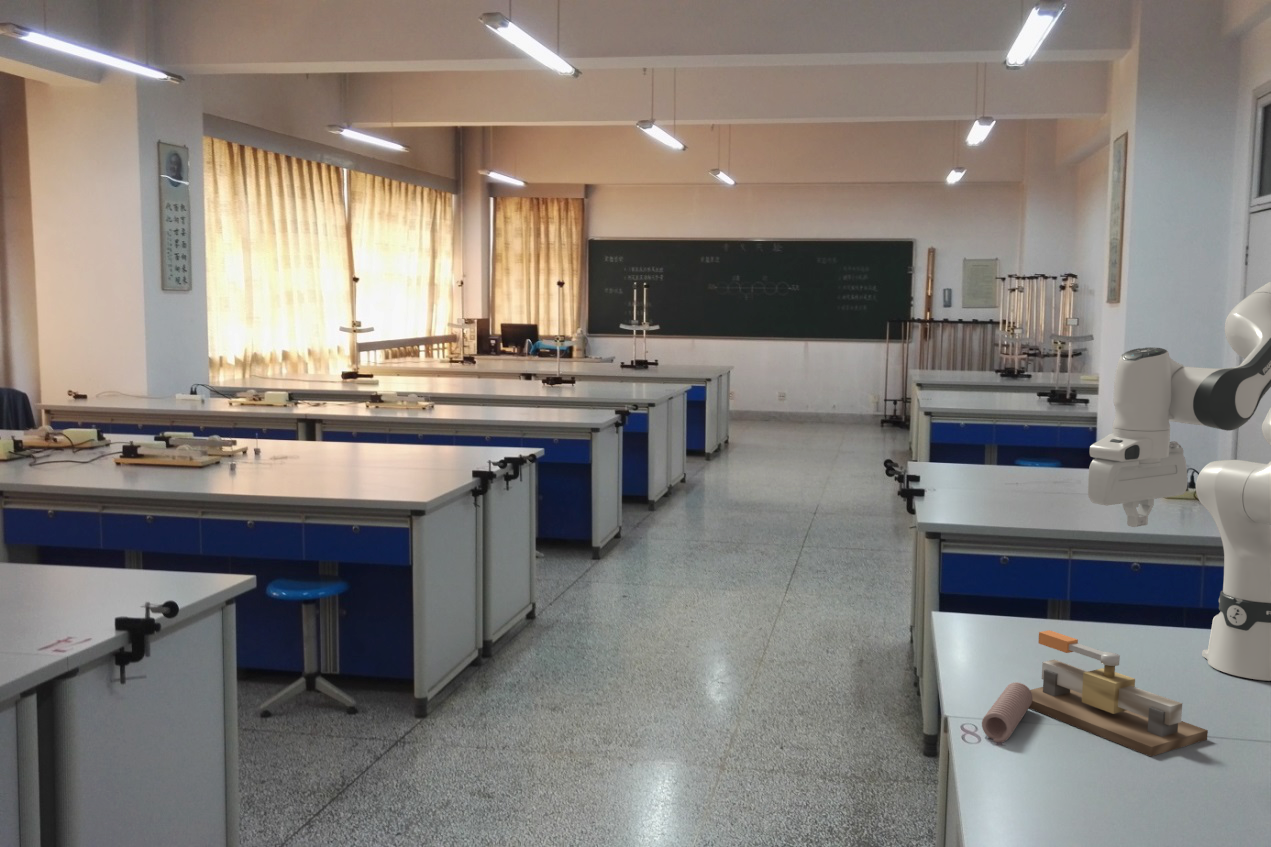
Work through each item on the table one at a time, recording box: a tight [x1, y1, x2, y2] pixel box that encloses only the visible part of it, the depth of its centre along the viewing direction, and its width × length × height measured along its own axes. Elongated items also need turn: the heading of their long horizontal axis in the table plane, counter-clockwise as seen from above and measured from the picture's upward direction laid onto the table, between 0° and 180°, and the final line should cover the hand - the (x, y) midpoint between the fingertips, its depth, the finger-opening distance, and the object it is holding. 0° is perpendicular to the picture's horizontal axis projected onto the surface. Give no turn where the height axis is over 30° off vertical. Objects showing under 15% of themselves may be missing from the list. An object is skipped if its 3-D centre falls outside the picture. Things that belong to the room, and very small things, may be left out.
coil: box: [981, 682, 1033, 743], centre depth 179 cm, size 5×5×18 cm
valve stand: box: [1028, 659, 1209, 757], centre depth 181 cm, size 14×26×9 cm, turn 30°
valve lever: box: [1038, 630, 1121, 667], centre depth 186 cm, size 15×3×2 cm, turn 29°
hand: (1137, 525), depth 188 cm, fingers closed
